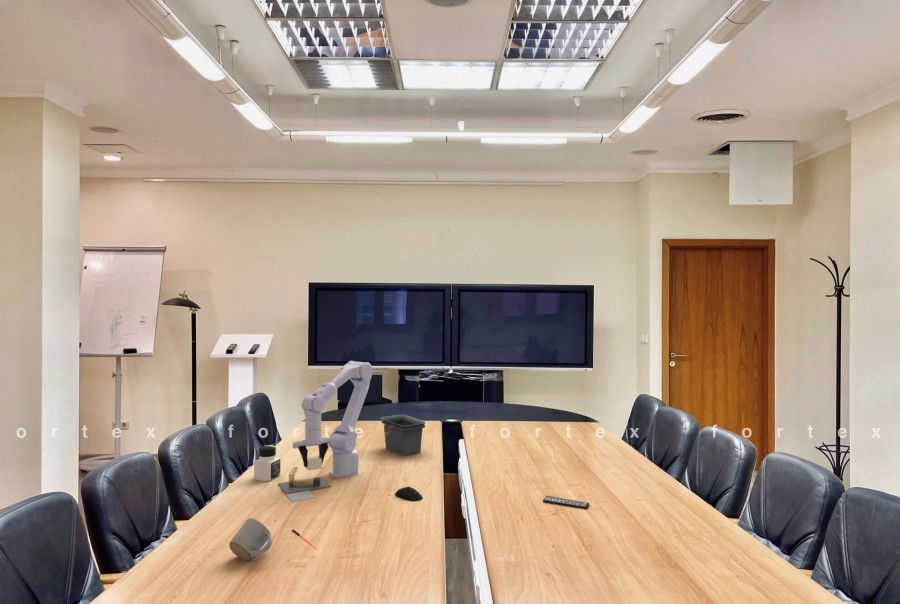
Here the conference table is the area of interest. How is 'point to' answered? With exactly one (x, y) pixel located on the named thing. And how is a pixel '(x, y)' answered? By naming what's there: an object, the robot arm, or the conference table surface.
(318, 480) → the l-shaped bracket
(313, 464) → the cream foam cube
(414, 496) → the gaming mouse
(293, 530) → the pen
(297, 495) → the felt pad
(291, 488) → the base plate
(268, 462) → the medicine bottle
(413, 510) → the conference table surface
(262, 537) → the ceramic mug
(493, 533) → the conference table surface
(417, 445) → the storage bin
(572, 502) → the multiport hub
